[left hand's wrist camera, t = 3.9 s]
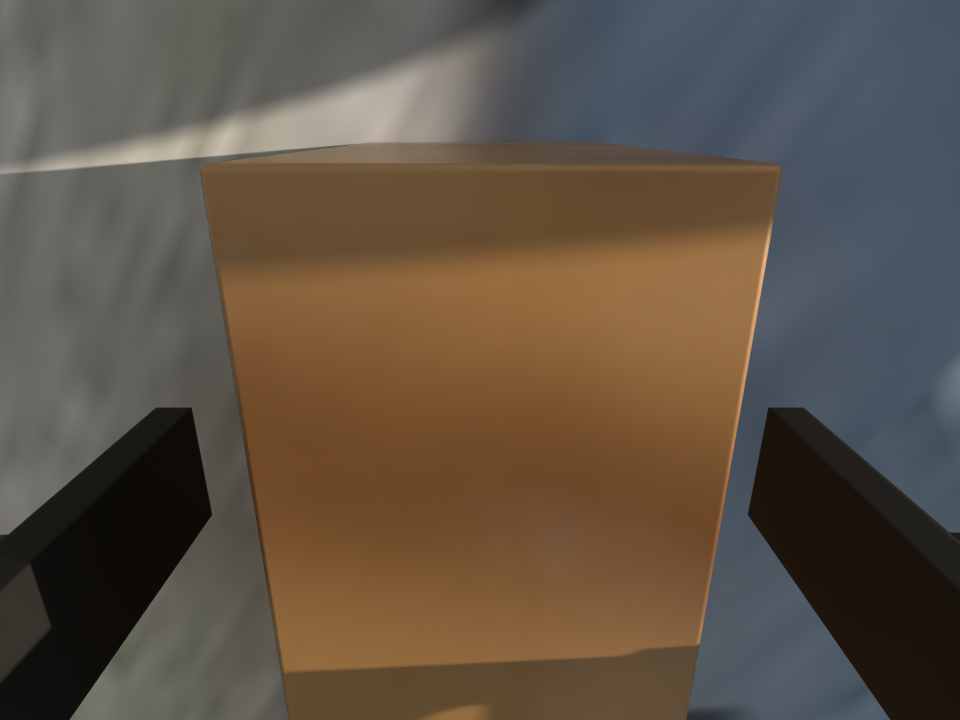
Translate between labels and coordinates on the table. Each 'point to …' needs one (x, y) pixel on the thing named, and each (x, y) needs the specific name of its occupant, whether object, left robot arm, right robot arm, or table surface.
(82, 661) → the left robot arm
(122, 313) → the table surface
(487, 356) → the beam
